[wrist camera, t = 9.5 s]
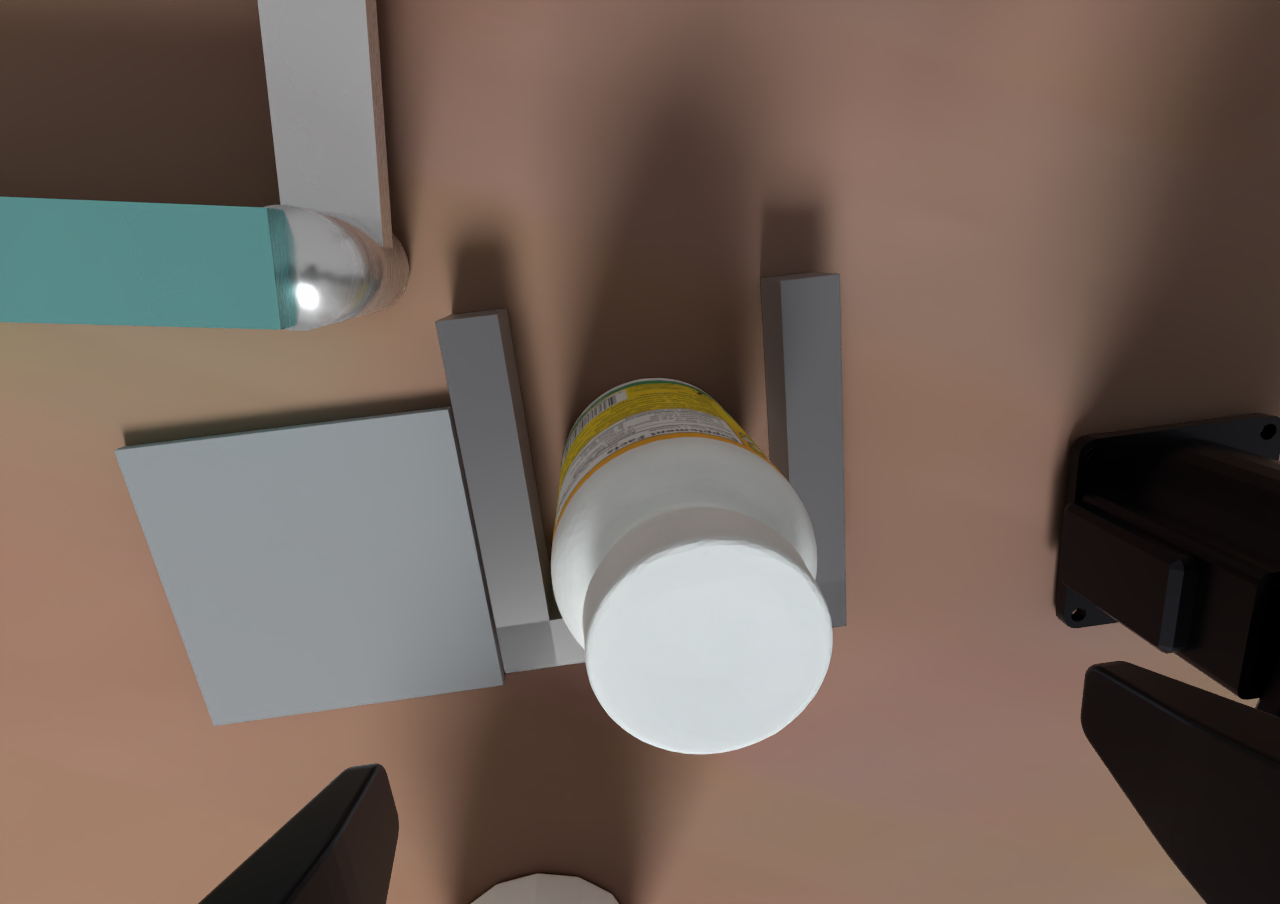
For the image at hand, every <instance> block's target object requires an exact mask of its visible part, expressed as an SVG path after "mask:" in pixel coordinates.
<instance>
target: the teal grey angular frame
mask: <svg viewBox="0 0 1280 904" xmlns="http://www.w3.org/2000/svg"><path fill="white" fill-rule="evenodd" d="M258 9H259V18H260V27H261V36H262V44H263V53H264V62H265V71H266V80H267V89H268V98H269V106H270V115H271V124H272V133H273V142H274V151H275V160H276V169H277V177H278V186H279V195H280V204H281V205H270V206H265V207H239V206H215V205H191V204H167V203H143V202H119V201H95V200H70V199H46V198H22V197H0V322H20V323H57V324H95V325H132V326H169V327H206V328H244V329H286V330H294V331H304V330H310V329H315V328H319V327H322V326H326V325H330V324H334V323H337V322H341V321H345V320H348V319H352V318H356V317H360V316H363V315H367V314H371V313H374V312H378V311H381V310H384V309H386V308H388V307H390V306H391V305H393V304H394V303H395V302H396V301H397V300H398V299H399V298H400V297H401V295H402V294H403V292H404V290H405V288H406V286H407V282H408V278H409V263H408V258H407V255H406V252H405V250H404V248H403V246H402V244H401V242H400V241H399V239H398V238H397V237H396V236H395V235H394V233H393V232H392V226H391V212H390V197H389V182H388V168H387V153H386V138H385V124H384V109H383V94H382V80H381V65H380V50H379V36H378V21H377V7H376V0H258Z"/></svg>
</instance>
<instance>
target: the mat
mask: <svg viewBox="0 0 1280 904" xmlns="http://www.w3.org/2000/svg"><path fill="white" fill-rule="evenodd" d="M114 452H115V454H116V457H117V460H118V463H119V466H120V468H121V471H122V474H123V477H124V479H125V482H126V485H127V488H128V490H129V493H130V496H131V499H132V501H133V504H134V507H135V510H136V512H137V515H138V518H139V521H140V524H141V526H142V529H143V532H144V535H145V537H146V540H147V543H148V546H149V548H150V551H151V554H152V557H153V559H154V562H155V565H156V568H157V570H158V573H159V576H160V579H161V582H162V584H163V587H164V590H165V593H166V595H167V598H168V601H169V604H170V606H171V609H172V612H173V615H174V617H175V620H176V623H177V626H178V628H179V631H180V634H181V637H182V640H183V642H184V645H185V648H186V651H187V653H188V656H189V659H190V662H191V664H192V667H193V670H194V673H195V675H196V678H197V681H198V684H199V686H200V689H201V692H202V695H203V698H204V700H205V703H206V706H207V709H208V711H209V714H210V717H211V720H212V722H213V725H214V726H217V725H224V724H231V723H238V722H245V721H252V720H259V719H267V718H274V717H281V716H288V715H295V714H302V713H309V712H316V711H323V710H331V709H338V708H345V707H352V706H359V705H366V704H373V703H380V702H387V701H395V700H402V699H409V698H416V697H423V696H430V695H437V694H444V693H451V692H459V691H466V690H473V689H480V688H487V687H494V686H501V685H504V680H505V675H504V670H503V665H502V660H501V655H500V650H499V645H498V640H497V635H496V630H495V625H494V620H493V615H492V610H491V605H490V600H489V595H488V590H487V585H486V580H485V575H484V570H483V565H482V560H481V555H480V550H479V545H478V540H477V535H476V530H475V525H474V520H473V515H472V510H471V505H470V500H469V495H468V490H467V485H466V480H465V475H464V470H463V465H462V460H461V455H460V450H459V445H458V440H457V435H456V430H455V425H454V420H453V415H452V409H451V406H449V407H441V408H433V409H425V410H417V411H409V412H400V413H392V414H384V415H376V416H368V417H360V418H352V419H344V420H335V421H327V422H319V423H311V424H303V425H295V426H287V427H278V428H270V429H262V430H254V431H246V432H238V433H230V434H222V435H213V436H205V437H197V438H189V439H181V440H173V441H165V442H156V443H148V444H140V445H132V446H124V447H122V448H119V449H117V450H114Z"/></svg>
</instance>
